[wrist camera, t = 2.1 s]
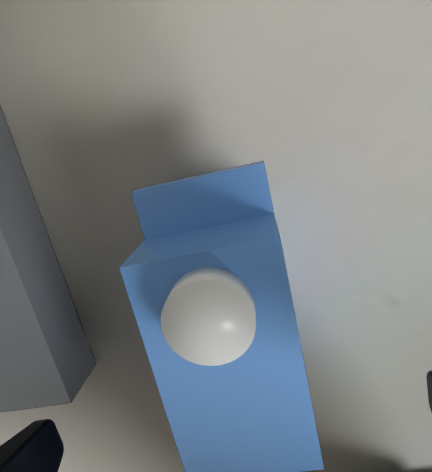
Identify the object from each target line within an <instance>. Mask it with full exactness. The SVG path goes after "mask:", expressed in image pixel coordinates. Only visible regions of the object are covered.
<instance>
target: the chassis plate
mask: <svg viewBox="0 0 432 472" xmlns="http://www.w3.org/2000/svg"><path fill="white" fill-rule="evenodd" d="M95 365H96V364H95V361H94V358H93V356H92V353H91V350H90V347H89V345H88V342H87V339H86V337H85V334H84V331H83V329H82V326H81V323H80V320H79V318H78V315H77V312H76V310H75V307H74V304H73V301H72V299H71V296H70V293H69V291H68V288H67V285H66V282H65V280H64V277H63V274H62V272H61V269H60V266H59V264H58V261H57V258H56V255H55V253H54V250H53V247H52V245H51V242H50V239H49V236H48V234H47V231H46V228H45V226H44V223H43V220H42V218H41V215H40V212H39V209H38V207H37V204H36V201H35V199H34V196H33V193H32V190H31V188H30V185H29V182H28V180H27V177H26V174H25V172H24V169H23V166H22V163H21V161H20V158H19V155H18V153H17V150H16V147H15V144H14V142H13V139H12V136H11V134H10V131H9V128H8V126H7V123H6V120H5V117H4V115H3V112H2V109H1V107H0V412H7V411H15V410H22V409H30V408H37V407H45V406H52V405H60V404H67V403H71V402H72V401H73V399H74V398H75V396H76V394H77V393H78V391H79V390H80V388H81V387H82V385H83V383H84V382H85V380H86V379H87V377H88V376H89V374H90V373H91V371H92V369H93V368H94V366H95Z"/></svg>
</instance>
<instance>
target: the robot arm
mask: <svg viewBox="0 0 432 472" xmlns="http://www.w3.org/2000/svg"><path fill="white" fill-rule="evenodd" d="M427 387H428V398H429V405H430V409H431V412H432V370H431V371H429V372H428V373H427ZM63 451H64V447H63V442H62V440H61V438H60V435H59V433H58V430H57V428H56V426H55V423H54V422H53V421H52V420H50V419H45V420H38V421H35V422H33V423H31V424H30V425H29V426H27V427H26V428H25V429H23V430H22V431H20V432H19V433H18V434H16V435H15V436H14V437H12V438H11V439H9V440H8V441H7V442H5V443H4V444H3V445H1V446H0V472H58V469H59V466H60V463H61V459H62V456H63Z"/></svg>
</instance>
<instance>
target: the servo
mask: <svg viewBox="0 0 432 472" xmlns="http://www.w3.org/2000/svg"><path fill="white" fill-rule="evenodd" d="M131 195H132V199H133V202H134V205H135V209H136V212H137V215H138V219H139V222H140V226H141V229H142V232H143V236H144V239H145V240H144V241H143V242H142V243H141V244H140V245H139V246H138V248H137V249H136V250H135V251H134V252H133V253H132V254H131V255H130V256H129V257H128V259H127V260H126V261H125V262H124V263H123V264H122V265H121V266H120V267H119V269H120V272H121V275H122V278H123V281H124V284H125V287H126V290H127V294H128V297H129V300H130V303H131V306H132V309H133V312H134V315H135V318H136V321H137V325H138V328H139V331H140V334H141V337H142V340H143V343H144V346H145V349H146V353H147V356H148V359H149V362H150V365H151V368H152V371H153V374H154V377H155V380H156V384H157V387H158V390H159V393H160V396H161V399H162V402H163V405H164V408H165V411H166V415H167V418H168V421H169V424H170V427H171V430H172V433H173V436H174V439H175V443H176V446H177V449H178V452H179V455H180V458H181V461H182V464H183V467H184V470H185V472H303V471H313V470H324V465H323V460H322V455H321V450H320V444H319V439H318V434H317V429H316V423H315V418H314V413H313V407H312V402H311V397H310V392H309V386H308V381H307V376H306V371H305V365H304V360H303V355H302V349H301V344H300V339H299V334H298V328H297V323H296V318H295V313H294V307H293V302H292V297H291V292H290V286H289V281H288V276H287V270H286V265H285V260H284V255H283V249H282V244H281V239H280V235H279V231H278V227H277V223H276V219H275V216H274V211H273V206H272V200H271V195H270V190H269V185H268V180H267V174H266V169H265V164H264V161H260V162H255V163H251V164H246V165H242V166H237V167H233V168H228V169H224V170H220V171H215V172H211V173H206V174H202V175H197V176H193V177H188V178H184V179H179V180H175V181H170V182H166V183H161V184H157V185H152V186H148V187H143V188H139V189H136V190H134V191H132V192H131Z"/></svg>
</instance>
